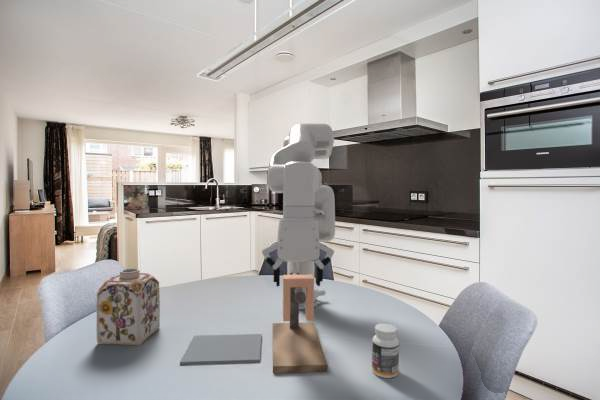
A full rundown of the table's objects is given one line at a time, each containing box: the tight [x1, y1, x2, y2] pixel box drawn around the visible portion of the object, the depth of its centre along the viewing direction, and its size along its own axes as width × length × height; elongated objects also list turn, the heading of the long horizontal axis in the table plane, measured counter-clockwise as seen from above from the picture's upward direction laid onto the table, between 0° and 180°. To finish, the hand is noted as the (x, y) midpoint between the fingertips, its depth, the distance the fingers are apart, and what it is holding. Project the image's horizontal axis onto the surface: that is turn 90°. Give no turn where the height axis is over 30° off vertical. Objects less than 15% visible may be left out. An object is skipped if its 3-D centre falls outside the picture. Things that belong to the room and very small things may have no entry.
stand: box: [272, 271, 328, 374], centre depth 85 cm, size 12×24×17 cm, turn 5°
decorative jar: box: [96, 267, 161, 346], centre depth 91 cm, size 12×12×18 cm
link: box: [282, 274, 315, 322], centre depth 81 cm, size 7×4×10 cm, turn 95°
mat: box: [179, 333, 262, 365], centre depth 84 cm, size 18×14×1 cm
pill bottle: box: [371, 323, 400, 379], centre depth 74 cm, size 6×6×10 cm
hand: (297, 284), depth 80 cm, fingers open, 9 cm apart
